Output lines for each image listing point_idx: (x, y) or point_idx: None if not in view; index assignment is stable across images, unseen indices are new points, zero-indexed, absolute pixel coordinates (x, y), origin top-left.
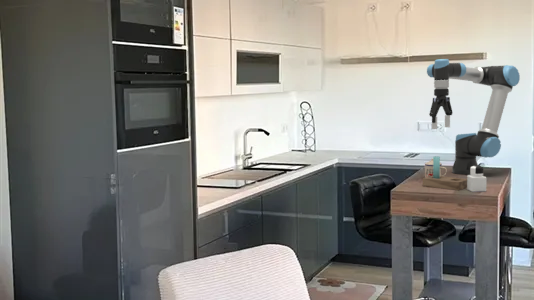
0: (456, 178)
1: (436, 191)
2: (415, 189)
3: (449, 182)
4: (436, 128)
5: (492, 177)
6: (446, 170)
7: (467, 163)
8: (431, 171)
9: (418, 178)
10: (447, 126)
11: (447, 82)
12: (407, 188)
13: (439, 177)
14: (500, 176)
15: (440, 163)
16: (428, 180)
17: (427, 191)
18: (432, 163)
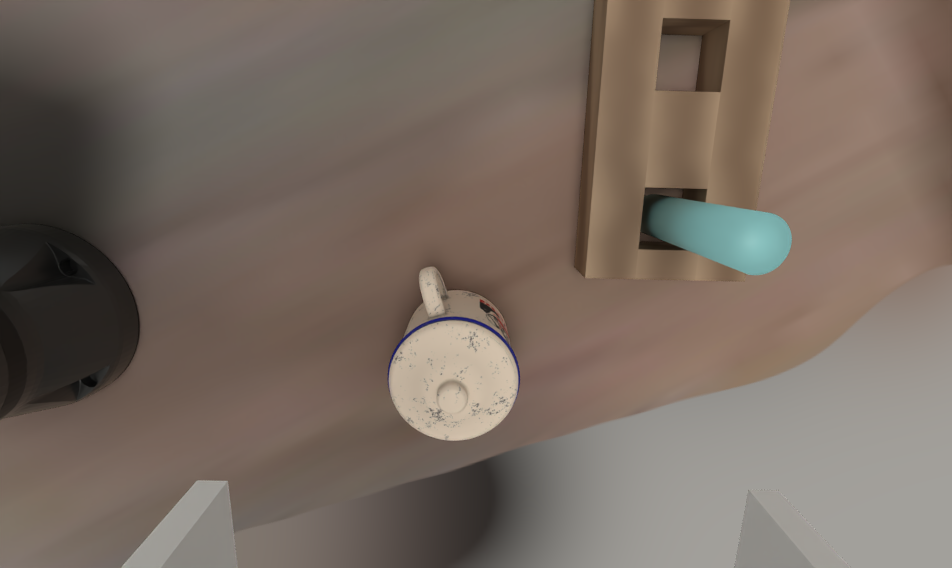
0: (626, 85)
1: (865, 102)
2: (852, 244)
3: (774, 65)
4: (784, 498)
5: (101, 59)
6: (433, 269)
7: (35, 290)
8: (510, 345)
9: None
10: (222, 532)
11: None
12: (839, 299)
13: (671, 198)
14: (15, 29)
15: (443, 328)
16: None
17: (889, 149)
18: (501, 368)
